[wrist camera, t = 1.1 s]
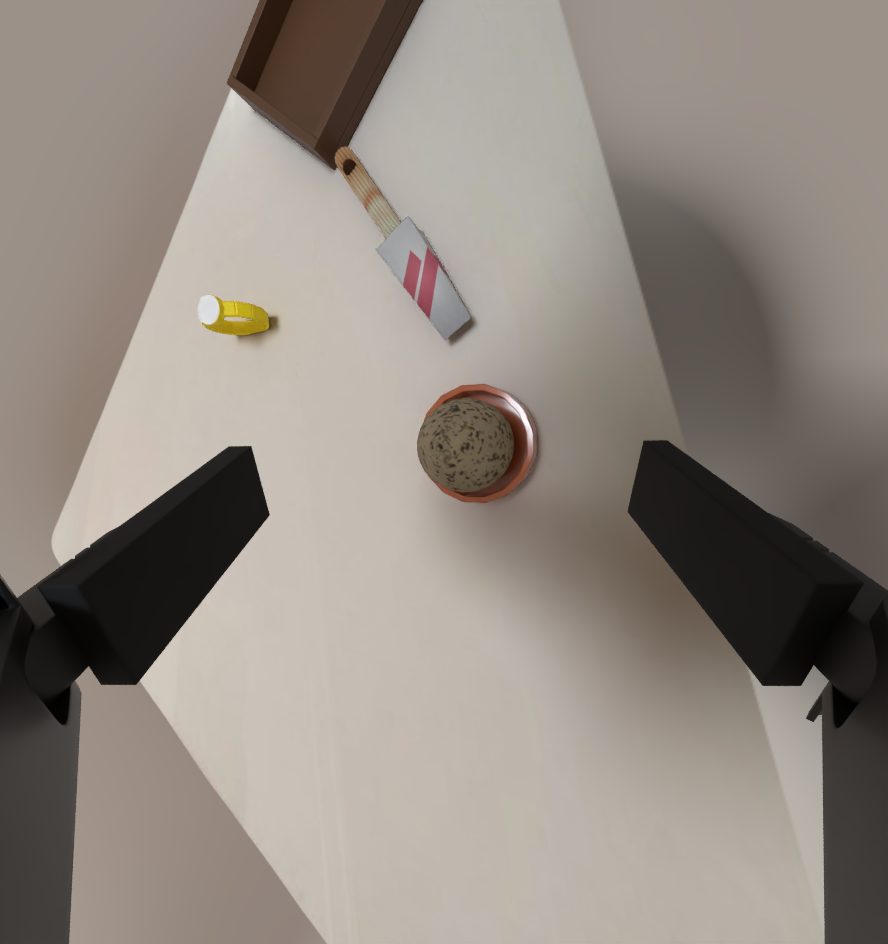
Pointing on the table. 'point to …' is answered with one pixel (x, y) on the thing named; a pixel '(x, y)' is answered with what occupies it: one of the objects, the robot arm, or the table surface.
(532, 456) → the shallow dish
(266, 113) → the tray
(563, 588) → the table surface
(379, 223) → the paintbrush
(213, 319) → the watch
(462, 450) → the decorative egg
